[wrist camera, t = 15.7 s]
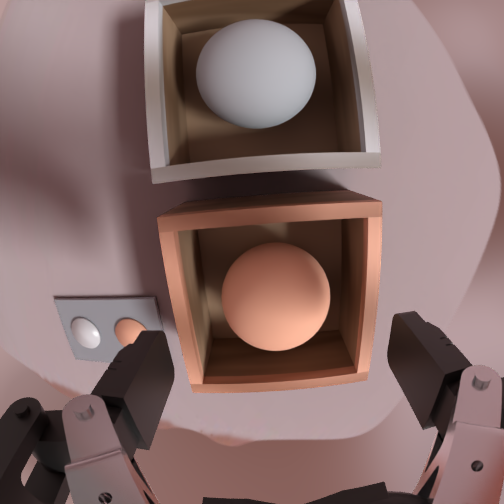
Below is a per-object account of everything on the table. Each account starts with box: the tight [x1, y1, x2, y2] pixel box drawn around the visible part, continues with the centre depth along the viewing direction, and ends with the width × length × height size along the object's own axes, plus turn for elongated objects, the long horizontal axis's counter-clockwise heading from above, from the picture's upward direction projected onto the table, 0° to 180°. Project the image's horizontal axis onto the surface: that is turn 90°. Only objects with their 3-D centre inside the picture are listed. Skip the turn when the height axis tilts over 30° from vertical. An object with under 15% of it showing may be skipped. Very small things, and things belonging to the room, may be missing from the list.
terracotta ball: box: [221, 242, 330, 351], centre depth 14 cm, size 5×5×5 cm
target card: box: [54, 297, 164, 363], centre depth 18 cm, size 5×8×1 cm, turn 95°
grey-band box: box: [144, 0, 381, 184], centre depth 12 cm, size 9×9×5 cm
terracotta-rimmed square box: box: [157, 190, 382, 393], centre depth 14 cm, size 9×9×5 cm
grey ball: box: [196, 19, 316, 129], centre depth 11 cm, size 5×5×5 cm
